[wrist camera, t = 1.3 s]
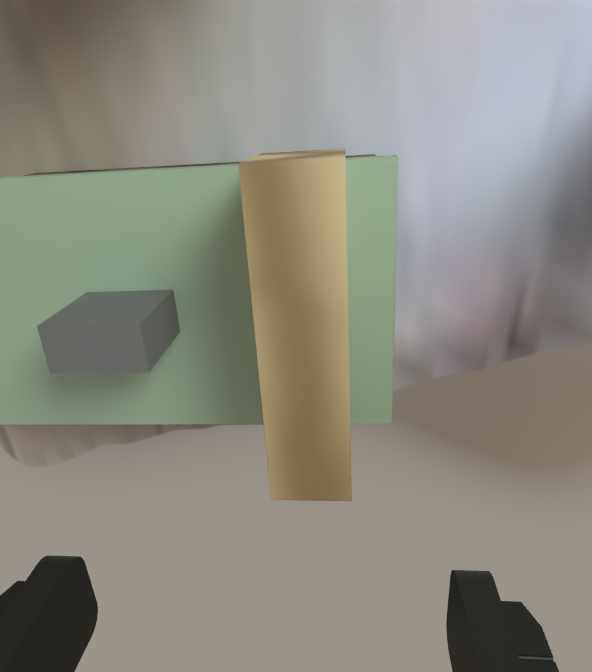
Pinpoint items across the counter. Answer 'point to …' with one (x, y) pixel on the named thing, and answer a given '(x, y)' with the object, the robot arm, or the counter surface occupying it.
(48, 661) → the robot arm
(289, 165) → the tan block
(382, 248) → the lid
